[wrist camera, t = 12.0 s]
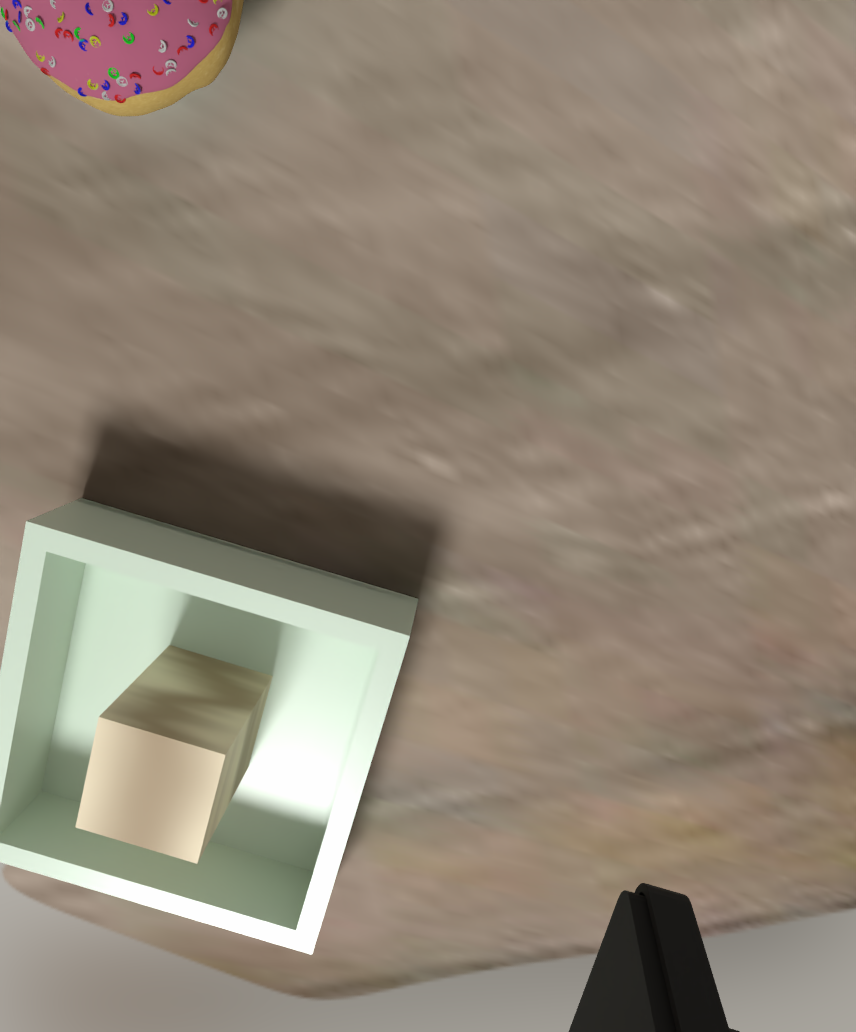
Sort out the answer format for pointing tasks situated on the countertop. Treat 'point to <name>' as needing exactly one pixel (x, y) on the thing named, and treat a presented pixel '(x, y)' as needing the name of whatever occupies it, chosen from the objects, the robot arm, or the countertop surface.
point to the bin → (217, 634)
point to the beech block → (173, 753)
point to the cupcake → (126, 47)
